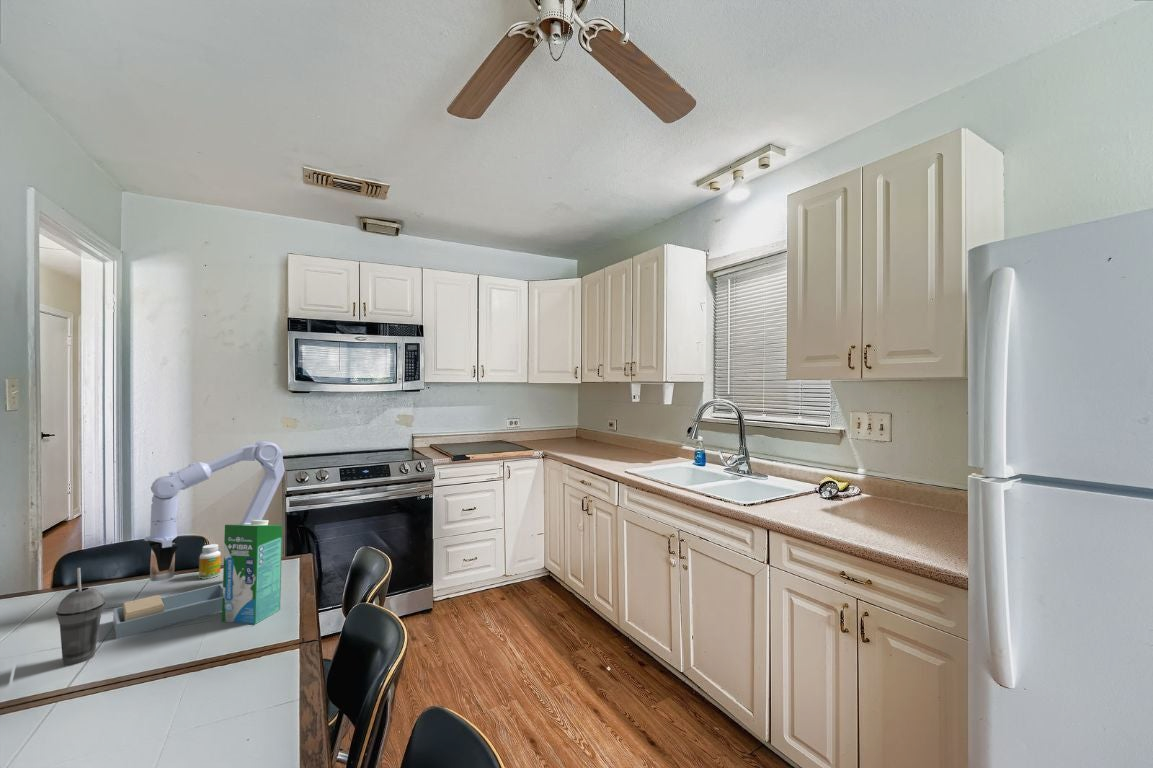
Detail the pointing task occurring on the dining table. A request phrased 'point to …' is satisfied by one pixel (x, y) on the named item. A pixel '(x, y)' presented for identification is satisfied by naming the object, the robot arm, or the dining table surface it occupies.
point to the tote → (173, 611)
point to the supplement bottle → (209, 562)
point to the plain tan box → (142, 608)
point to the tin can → (154, 570)
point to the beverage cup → (79, 623)
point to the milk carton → (251, 571)
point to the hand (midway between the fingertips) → (162, 567)
